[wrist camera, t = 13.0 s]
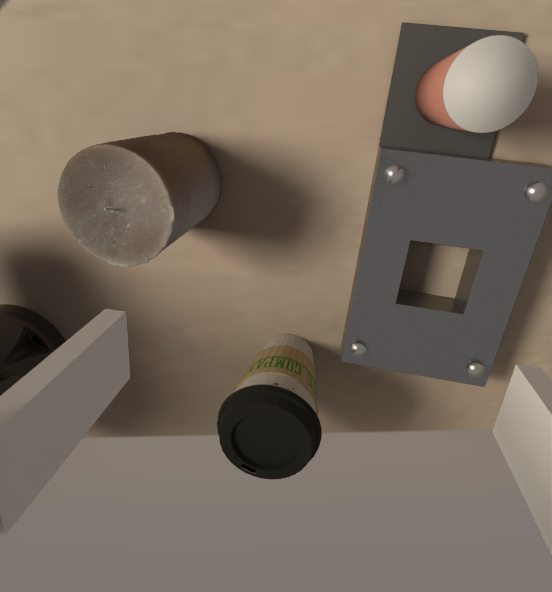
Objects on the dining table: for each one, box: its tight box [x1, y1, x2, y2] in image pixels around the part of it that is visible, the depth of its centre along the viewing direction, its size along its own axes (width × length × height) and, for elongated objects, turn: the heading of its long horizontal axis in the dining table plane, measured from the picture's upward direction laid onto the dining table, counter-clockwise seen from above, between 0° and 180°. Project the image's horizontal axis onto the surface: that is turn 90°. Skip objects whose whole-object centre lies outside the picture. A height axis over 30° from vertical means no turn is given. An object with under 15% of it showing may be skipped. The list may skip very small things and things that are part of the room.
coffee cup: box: [217, 334, 321, 479], centre depth 45 cm, size 10×10×15 cm
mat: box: [379, 22, 525, 158], centre depth 39 cm, size 10×10×1 cm
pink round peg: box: [415, 35, 538, 133], centre depth 33 cm, size 5×5×13 cm
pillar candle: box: [58, 132, 221, 267], centre depth 39 cm, size 10×10×15 cm
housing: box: [341, 145, 552, 387], centre depth 43 cm, size 15×22×5 cm
